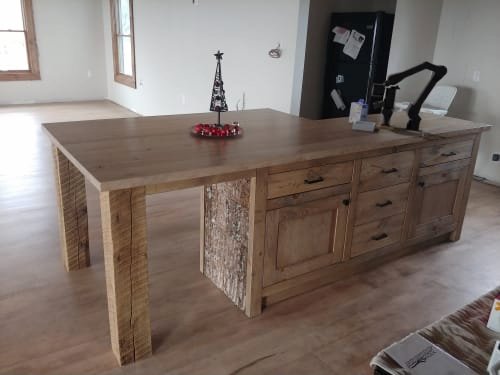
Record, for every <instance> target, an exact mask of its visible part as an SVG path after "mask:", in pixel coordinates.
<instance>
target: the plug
mask: <svg viewBox="0 0 500 375" xmlns="http://www.w3.org/2000/svg"><path fill="white" fill-rule="evenodd" d="M392 117H393V115H392V116H391V118H390V120H389V122H388V123H387V125H385V123H384V116H383V115H382V119H381V120H382V121H381V123H382V126H387V127H390V124H391V120H392Z"/></svg>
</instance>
